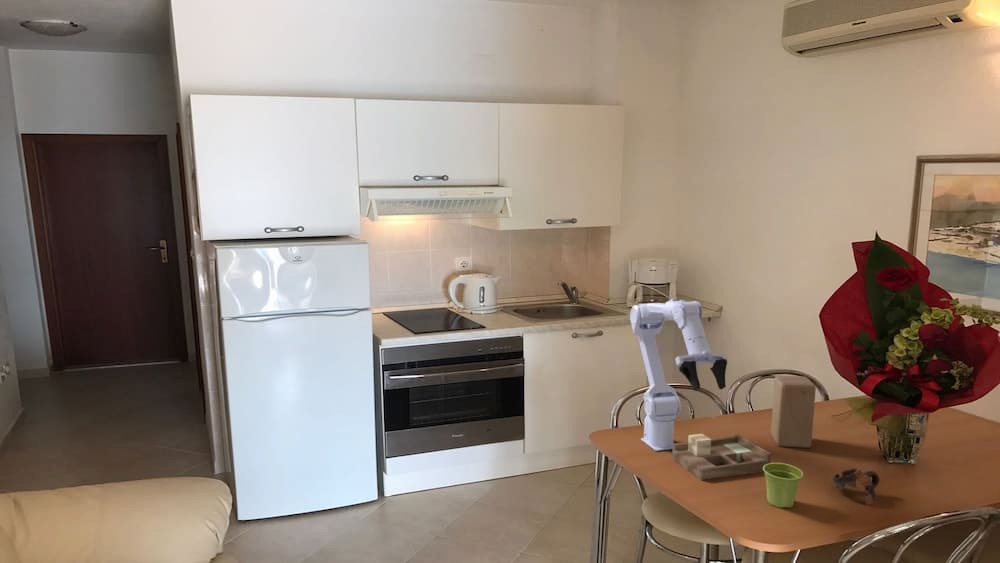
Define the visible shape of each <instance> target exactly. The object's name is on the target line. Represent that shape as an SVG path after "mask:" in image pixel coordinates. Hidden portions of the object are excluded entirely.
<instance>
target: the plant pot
mask: <svg viewBox="0 0 1000 563" xmlns="http://www.w3.org/2000/svg"><path fill="white" fill-rule="evenodd" d="M763 471H764V476H765V481H766V482H765V484H766V500H767V501H768V503H769V504H770V505H771V506H774V507H776V508H780V509H781V508H783V509H784V508H788V509H789V508H792V507H793V506H794V503H795V499H796V495H797V491H798V487H799V483H800V482H801V480H802V478H803V477H804V472H803V471H802V469H800V468H798V467H796V466H794V465H791V464H787V463H782V462H770V463H769V464H766V465H764V466H763Z"/></svg>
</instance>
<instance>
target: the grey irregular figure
mask: <svg viewBox="0 0 1000 563" xmlns="http://www.w3.org/2000/svg"><path fill="white" fill-rule="evenodd" d="M840 473H841V476H840V474H839V473H836V474H835V475H833V476H832V480H833V484H832V485H833V488H836V489H840V490H841V491H843V490H844V487H845V486H846V485H847V486H849V487H850V488H854V489H855V488H857V483H856V482H857V480H858V481H859V483H860V485H862V486H863V487H864V489H865V491H867V492H868V493H867V494H866V495H865V496H863V499H864V502H865V505H867V506H869V505H872V504H873V503H875V502H876V501H877V498H876V490H875V489H876V488H877V486H879V482H880V477H879V474H878V473H877V472H876V471H874V470H867V471H865V472H862V470H861V468H859V467H854V468H848V469H846V470H843V471H841V472H840ZM845 484H846V485H845Z"/></svg>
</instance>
